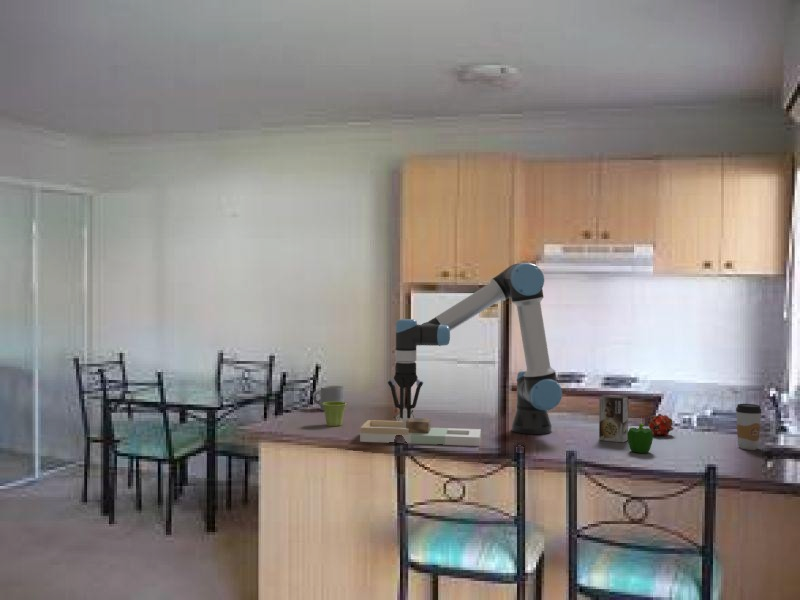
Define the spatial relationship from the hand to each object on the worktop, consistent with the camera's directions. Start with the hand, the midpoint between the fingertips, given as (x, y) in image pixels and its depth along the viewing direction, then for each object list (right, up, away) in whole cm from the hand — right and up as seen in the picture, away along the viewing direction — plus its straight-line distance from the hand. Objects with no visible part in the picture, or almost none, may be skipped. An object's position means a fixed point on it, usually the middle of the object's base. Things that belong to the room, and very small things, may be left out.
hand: (405, 427), depth 289 cm
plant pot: (-28, -4, +27) cm, 39 cm away
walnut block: (+5, -1, -1) cm, 5 cm away
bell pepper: (+79, -6, -18) cm, 82 cm away
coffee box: (+76, -5, +2) cm, 76 cm away
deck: (+6, -4, -1) cm, 7 cm away
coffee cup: (+120, -6, -9) cm, 120 cm away
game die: (0, -4, +17) cm, 18 cm away
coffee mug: (-34, -3, +67) cm, 75 cm away
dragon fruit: (+96, -5, +13) cm, 97 cm away
